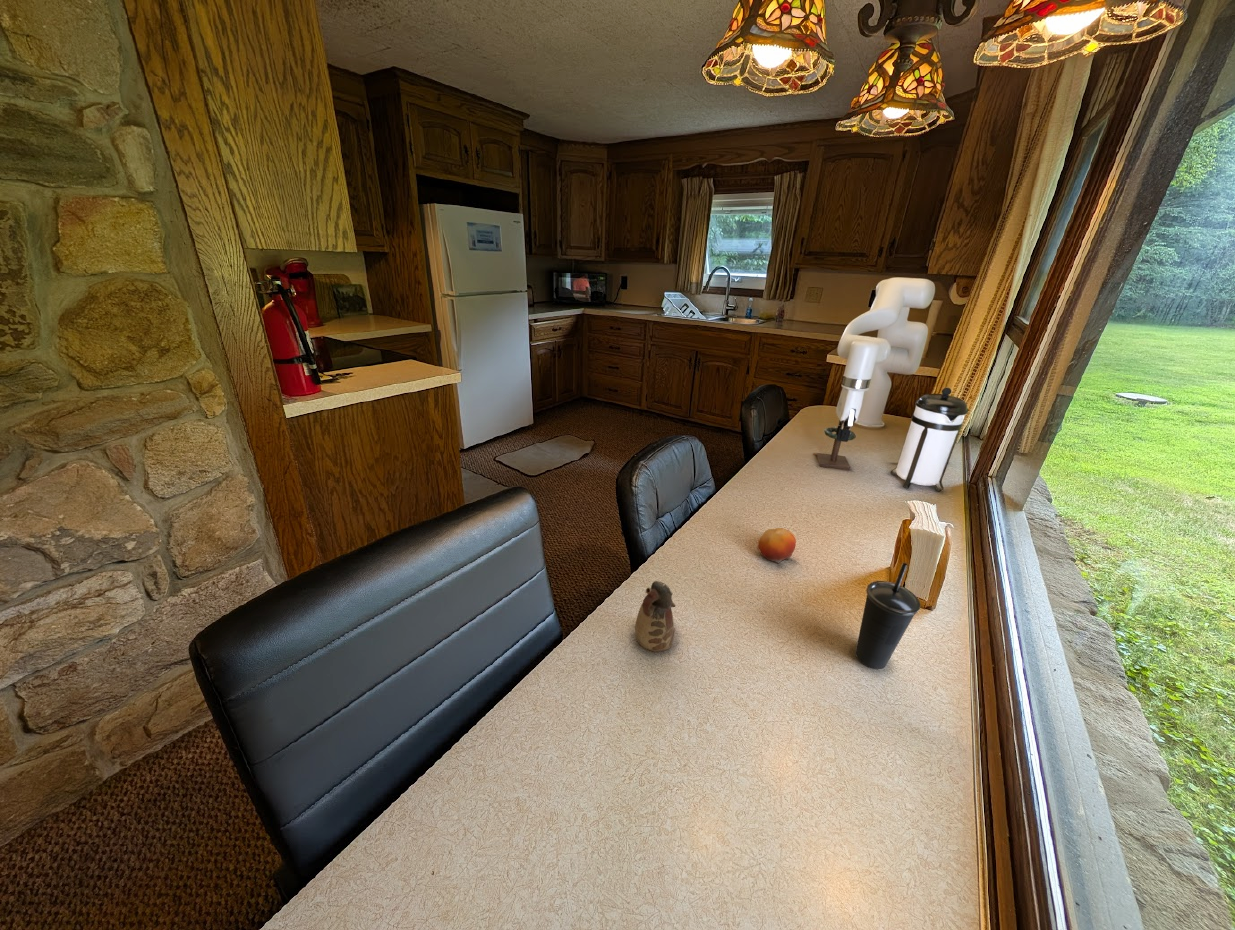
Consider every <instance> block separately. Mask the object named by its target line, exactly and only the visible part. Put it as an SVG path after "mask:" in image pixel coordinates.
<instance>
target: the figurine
mask: <svg viewBox="0 0 1235 930" xmlns="http://www.w3.org/2000/svg"><path fill="white" fill-rule="evenodd" d="M645 593H646V595H645V597H644V598H643V600H642V603H641V605H640V607H639V610H638V613H637V616H636V620H635V625H634V630H635V631H634V636H635V639H636V641H637V643H638V644H639V645H640V646H641V647H642V648H644V649H645V650H648V651H650V652H654V653H656V652H664V651H667V650H668V649H670V648H671V647H672V645H673V642H674V637H675V632H676V629H675V623H674V613H673V611H672V608H676V607H677V606H676V605H677V604H675V603H674V602H673V599H672V597H673V592H672V589H671V588H670V587H669V585H668V584H666V583H665V582H663V581H659V580H655V581H653V582H652V583H651V585H650V587H647V588H646V589H645Z"/></svg>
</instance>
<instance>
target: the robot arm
mask: <svg viewBox="0 0 1235 930" xmlns="http://www.w3.org/2000/svg"><path fill="white" fill-rule="evenodd" d="M935 293H936V286H935V283H934V281H932V280H930V279H927V278H919V277H902V276H901V277H898V276H897V277H890V278H887V279H883V280H881V281H879V282H878V283H877V285H876V288H875V297H874V300H873V302H872V304H871V307H870V309H869V310H868V311H866V312H864V313H862V314H860V315H859V316H857V317H855V318H854V319H852V320H851V321H850V322H848V324H847V326H846V327H845V329H844V332H843V333H842V335H841V338H840V340H839V342H838V345H837V350H836V351H837V355H838V357H839V358H840V359H843V360H846V363H845V368H844V372H843V376H842V380H841V387H842V388H841V391H840V395H839V398H838V401H837V404H836V408H835V415H836V417H837V418H838V420H839V421H838V425H837V432H835V434H837V435H838V436H837V441H841V442H844V443H847V442H849V441H848V439H849V435H850V431H852V427H853V424H855V425H859V426H862V427H867V428H882V427H884V426H885V422H884V421H882V419H883V416H884V413H885V409H886V405H887V402H888V398H889V395H890V391H891V388H892V379H891V377H890V375H889V374H888V373H890V374H898V375H905V376H906V375H907V376H912V375H914V374H916V373H917V371H918V370H919V367H920V364H921V360H922V358H923V355H924V350H925V347H926V343H927V339H928V334H929V328H928V325H927V324H926V323H924V322H920V321H910V320H908V318H909V313H910V310H911V309H910V308H912V309H922V310H924V309H927V308H928V307H929V306H930V305H931V303H932V302H933V299H934V297H935ZM874 331H877V336H876V337H874V336H868V335H861V334H864V333H868V332H874Z"/></svg>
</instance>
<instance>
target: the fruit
mask: <svg viewBox="0 0 1235 930" xmlns="http://www.w3.org/2000/svg"><path fill="white" fill-rule="evenodd" d="M796 545H797V541H796V537H795V535H794V534H793V533H792V532H791V531H790V530H788V529H786V528H784V527H776V528H768V529H766V530H765V531H764V532H763V534H762V535H760V537H759V539H758V542H757V548H758V551H759V553H760V555H762V556H763V557H764V558H766V559H767V560H768V561H772V562H775V563H777V564H781V562H783V561H784V560H786V559H788V560H790V561H793V559H792V558H791V557H792V556H793V554H794V552H795V550H796Z"/></svg>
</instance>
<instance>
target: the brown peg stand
mask: <svg viewBox="0 0 1235 930" xmlns="http://www.w3.org/2000/svg"><path fill="white" fill-rule="evenodd" d="M841 444H842V441H837V440H836V439H834V441H833V444H832V445H833V446H832V450H831V452H830V453H823V452H816V458H817V462H818V465H819V467H822V468H828V469H838V470H844V471H850V470H851V466H850V464H849V461H848V459H847V456H845V455H839V452H840V448H841Z"/></svg>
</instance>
